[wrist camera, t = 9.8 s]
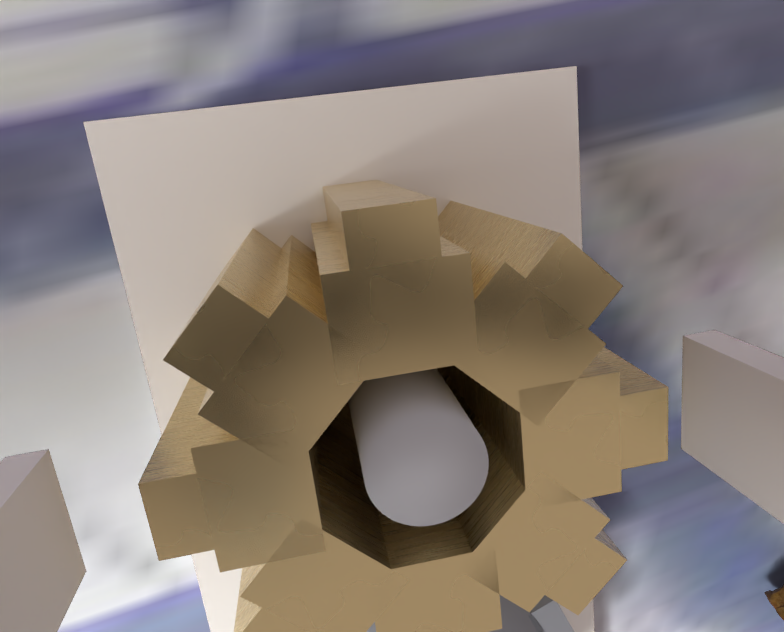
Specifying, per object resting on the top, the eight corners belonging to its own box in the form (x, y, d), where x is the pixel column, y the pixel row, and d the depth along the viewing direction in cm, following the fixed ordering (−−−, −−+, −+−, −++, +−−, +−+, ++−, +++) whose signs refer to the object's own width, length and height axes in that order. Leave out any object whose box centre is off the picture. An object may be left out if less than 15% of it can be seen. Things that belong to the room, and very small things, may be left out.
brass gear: (241, 510, 20) (206, 735, 12) (175, 206, 17) (74, 248, 9) (531, 455, 21) (666, 628, 13) (512, 161, 18) (670, 166, 10)
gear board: (259, 789, 24) (238, 1146, 16) (97, 124, 17) (-112, 91, 8) (584, 710, 26) (731, 994, 17) (559, 71, 19) (788, -2, 10)
